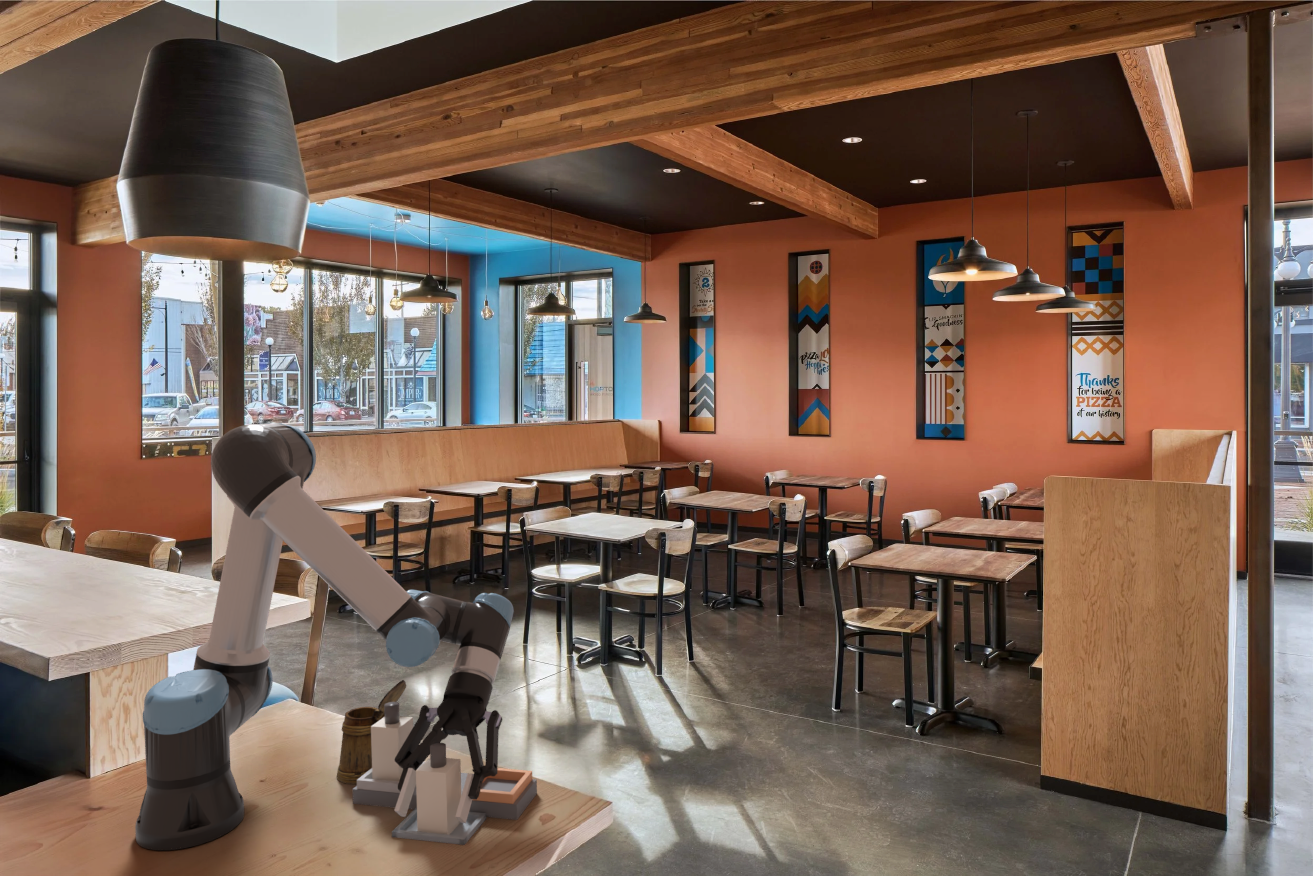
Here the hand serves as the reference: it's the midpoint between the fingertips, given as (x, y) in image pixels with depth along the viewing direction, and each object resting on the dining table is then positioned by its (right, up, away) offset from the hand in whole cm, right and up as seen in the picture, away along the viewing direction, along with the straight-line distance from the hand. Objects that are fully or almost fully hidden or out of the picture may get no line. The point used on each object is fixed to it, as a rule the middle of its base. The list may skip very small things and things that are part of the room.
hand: (430, 817), depth 127 cm
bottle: (+1, -3, +3) cm, 5 cm away
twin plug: (-10, 0, +15) cm, 18 cm away
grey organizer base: (-1, -3, +13) cm, 13 cm away
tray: (+1, -4, +3) cm, 5 cm away
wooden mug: (-16, -3, +23) cm, 29 cm away
